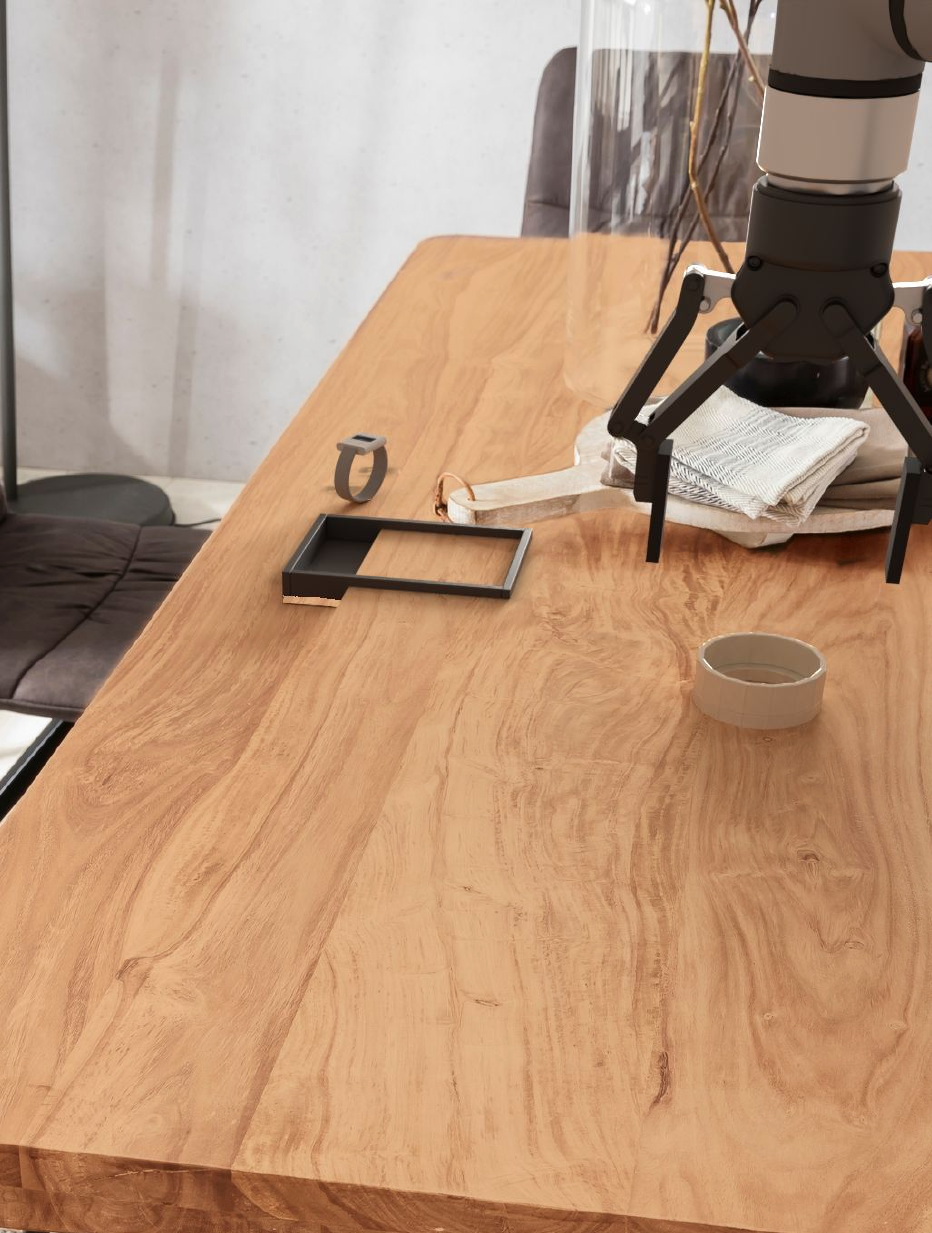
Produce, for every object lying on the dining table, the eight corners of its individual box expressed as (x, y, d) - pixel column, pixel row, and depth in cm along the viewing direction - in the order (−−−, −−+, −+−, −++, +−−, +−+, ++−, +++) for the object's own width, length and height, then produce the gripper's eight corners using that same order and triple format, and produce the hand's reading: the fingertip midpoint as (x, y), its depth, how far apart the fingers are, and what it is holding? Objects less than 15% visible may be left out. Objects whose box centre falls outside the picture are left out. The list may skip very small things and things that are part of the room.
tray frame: (531, 559, 129) (533, 528, 128) (508, 622, 119) (510, 590, 118) (320, 543, 132) (320, 513, 131) (282, 603, 123) (281, 571, 121)
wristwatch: (355, 515, 137) (355, 453, 134) (326, 508, 138) (325, 447, 135) (396, 492, 141) (396, 431, 138) (367, 485, 142) (367, 426, 140)
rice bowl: (816, 703, 108) (826, 637, 106) (816, 760, 102) (827, 692, 100) (693, 692, 110) (701, 627, 108) (686, 747, 104) (694, 680, 101)
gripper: (1076, 173, 89) (989, 558, 101) (594, 153, 94) (565, 522, 106) (1094, 205, 83) (1000, 610, 95) (578, 181, 88) (550, 570, 100)
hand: (771, 565), depth 101 cm, fingers open, 13 cm apart
